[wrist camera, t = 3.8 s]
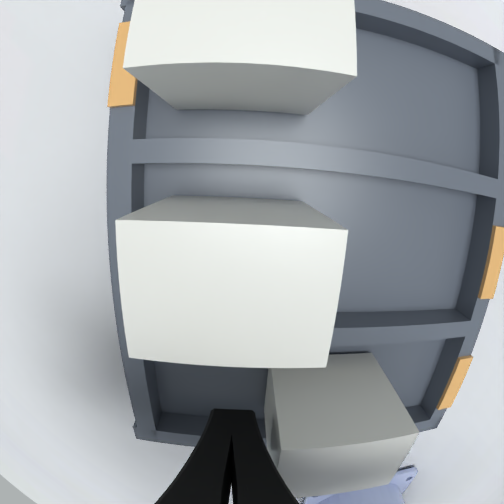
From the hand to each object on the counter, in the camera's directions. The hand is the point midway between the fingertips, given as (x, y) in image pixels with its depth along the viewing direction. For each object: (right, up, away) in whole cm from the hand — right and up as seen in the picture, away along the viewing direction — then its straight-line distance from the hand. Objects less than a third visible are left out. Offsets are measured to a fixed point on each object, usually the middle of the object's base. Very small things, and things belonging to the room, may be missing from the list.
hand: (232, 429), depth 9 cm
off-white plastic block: (0, +11, 0) cm, 11 cm away
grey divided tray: (+3, +6, +2) cm, 7 cm away
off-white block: (0, +6, +1) cm, 6 cm away
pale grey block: (+3, +1, +3) cm, 4 cm away
